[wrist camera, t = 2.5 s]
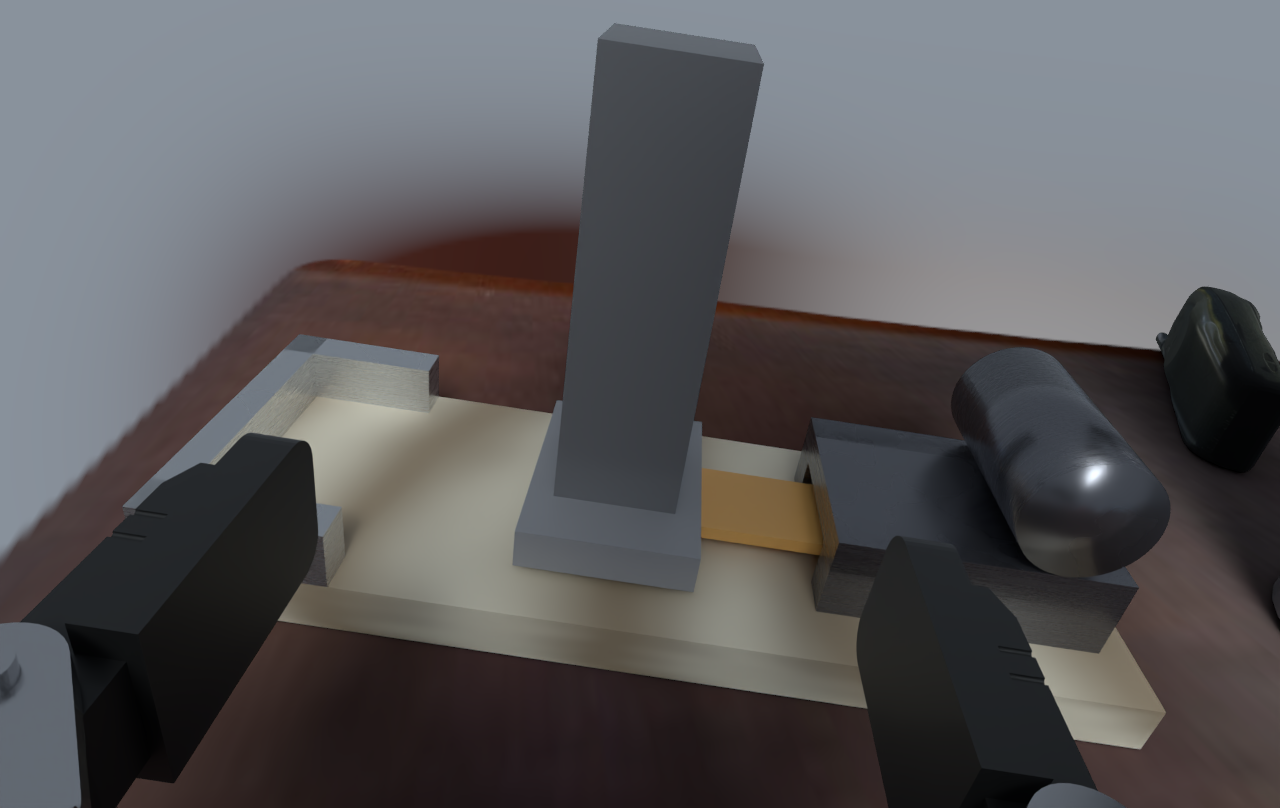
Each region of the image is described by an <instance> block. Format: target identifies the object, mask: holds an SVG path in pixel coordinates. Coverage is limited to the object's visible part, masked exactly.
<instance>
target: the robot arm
mask: <svg viewBox="0 0 1280 808" xmlns="http://www.w3.org/2000/svg"><path fill="white" fill-rule="evenodd" d="M317 541H318V519H317V506H316V493H315V480H314V467H313V455H312V450H311V447H310V445H309V444H308V442H306V441H303V440H296V439H290V438H283V437H277V436H271V435H264V434H258V433H251V432H250V433H247V434H245V435H243V436H242V437H241V438H240V439H239V440H238V441H237V442H236V443H235V444H234V445H233V446H232V447H231V448H230V449H229V451H228V452H227V453H226V454H225V455H224V456H223V457H222V458H221V459H220V460H219V461H218V462H217V463H216V464H215V465H213V464H207V463H199V464H197V465H195V466H193V467H191V468H189V469H187V470H185V471H184V472H182V473H180V474H178V475H176V476H174V477H172V478H170V479H168V480H166V481H164V482H163V483H161V484H160V485H159V486H158V487H157V488H156V489H155V490H154V491H153V492H152V493H151V494H150V495H149V496H148V497H147V498H146V499H145V500H144V501H143V502H142V503H141V504H140V505H139V506H138V507H137V508H136V509H135V513H134V515H131V514H130V515H129V516H128V517H127V518H126V519H125V520H124V521H123V522H122V523H121V524H120V525H119V526H118V527H116V528H115V529H114V530H113V535H112V537H106V538H105V539H104V540H103V541H102V542H101V543H100V544H99V545H98V546H97V547H96V548H95V549H94V550H93V551H92V552H91V553H90V554H89V555H88V556H87V557H86V558H85V559H84V560H83V561H82V562H81V563H80V564H79V565H78V566H77V567H76V568H75V569H74V570H73V571H72V572H71V573H70V574H69V575H68V576H67V577H66V578H65V579H64V580H62V581H61V582H60V583H59V584H58V585H57V586H56V587H55V588H54V589H53V590H52V591H51V592H50V593H49V594H48V595H47V596H46V597H45V598H44V599H43V600H42V601H41V602H40V603H39V604H38V605H37V606H36V607H35V608H34V609H33V610H32V611H31V612H30V613H29V614H28V615H27V616H26V617H25V618H24V619H23V620H22V621H21V622H19V623H5V624H0V808H118V807H117V805H118V804H119V802H120V801H121V799H122V798H123V796H124V795H125V793H126V792H127V790H128V789H129V788H130V786H131V785H132V783H133V782H134V780H135V779H136V778H141V779H148V780H154V781H161V782H167V783H174V782H175V781H176V779H177V778H178V776H179V775H180V773H181V771H182V770H183V768H184V767H185V765H186V764H187V762H188V761H189V759H190V757H191V756H192V754H193V753H194V751H195V750H196V748H197V746H198V745H199V743H200V742H201V740H202V739H203V737H204V735H205V734H206V732H207V731H208V729H209V728H210V726H211V724H212V723H213V721H214V720H215V718H216V717H217V715H218V713H219V712H220V710H221V709H222V707H223V706H224V704H225V702H226V701H227V699H228V698H229V696H230V695H231V693H232V691H233V690H234V688H235V687H236V685H237V684H238V682H239V680H240V679H241V677H242V676H243V674H244V673H245V671H246V669H247V668H248V666H249V665H250V663H251V662H252V660H253V658H254V657H255V655H256V654H257V652H258V651H259V649H260V647H261V646H262V644H263V643H264V641H265V640H266V638H267V636H268V635H269V633H270V632H271V630H272V629H273V627H274V625H275V624H276V622H277V621H278V619H279V618H280V616H281V614H282V613H283V611H284V610H285V608H286V607H287V605H288V603H289V602H290V600H291V599H292V597H293V596H294V594H295V592H296V591H297V589H298V588H299V586H300V585H301V583H302V582H303V580H304V578H305V577H306V575H307V573H308V571H309V569H310V567H311V564H312V562H313V559H314V556H315V552H316V547H317ZM1272 600H1273V603H1274V606H1275V609H1276V612H1277V615H1278V617H1279V619H1280V576H1279V578H1278V579H1277V581H1276V582H1275V583H1274V585H1273V594H1272ZM856 652H857V662H858V667H859V672H860V677H861V681H862V686H863V691H864V695H865V700H866V704H867V709H868V714H869V718H870V723H871V728H872V732H873V737H874V742H875V746H876V751H877V756H878V760H879V765H880V770H881V774H882V779H883V784H884V788H885V793H886V797H887V802H888V807H889V808H1126V807H1125V806H1123V805H1122V804H1120V803H1119V802H1117V801H1116V800H1114V799H1112V798H1110V797H1109V796H1107V795H1105V794H1103V793H1101V792H1098V790H1097V788H1096V786H1095V784H1094V782H1093V780H1092V778H1091V775H1090V773H1089V771H1088V769H1087V767H1086V765H1085V763H1084V761H1083V758H1082V756H1081V754H1080V752H1079V750H1078V748H1077V746H1076V743H1075V741H1074V739H1073V737H1072V735H1071V733H1070V731H1069V728H1068V726H1067V724H1066V722H1065V720H1064V718H1063V716H1062V714H1061V711H1060V709H1059V707H1058V705H1057V703H1056V701H1055V699H1054V696H1053V694H1052V692H1051V690H1050V688H1049V686H1048V685H1045V683H1044V680H1045V677H1044V675H1043V673H1042V671H1041V669H1040V666H1039V664H1038V662H1037V660H1036V658H1035V657H1032V649H1031V647H1030V645H1029V643H1028V641H1027V639H1026V637H1025V634H1024V632H1023V630H1022V628H1021V626H1020V624H1019V622H1018V619H1017V618H1016V617H1015V616H1014V615H1013V613H1012V612H1011V611H1010V610H1009V609H1008V608H1007V607H1006V606H1005V605H1004V604H1003V603H1002V602H1001V601H1000V600H999V598H998V597H997V596H996V595H995V594H994V593H993V592H992V591H991V590H990V589H989V588H988V587H981V586H975V585H972V584H971V581H970V579H969V577H968V574H967V572H966V569H965V567H964V565H963V562H962V560H961V558H960V555H959V553H958V551H957V549H956V548H955V546H953V545H952V544H948V543H942V542H936V541H929V540H923V539H916V538H910V537H904V536H895V537H893V538H892V540H891V541H890V543H889V544H888V547H887V549H886V551H885V554H884V557H883V559H882V562H881V565H880V567H879V570H878V572H877V575H876V578H875V580H874V583H873V585H872V588H871V591H870V593H869V596H868V599H867V601H866V604H865V606H864V609H863V612H862V614H861V617H860V621H859V626H858V632H857V642H856Z"/></svg>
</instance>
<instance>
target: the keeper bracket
mask: <svg viewBox="0 0 1280 808" xmlns="http://www.w3.org/2000/svg"><path fill="white" fill-rule="evenodd" d="M316 396H318V397H324V398H331V399H338V400H344V401H351V402H358V403H364V404H371V405H377V406H384V407H391V408H397V409H404V410H411V411H417V412H424V413H429V412H430V410H431V409H432V407H433V405H434V404H435V402H436V400H437V398H438V397H439V355H432V354H426V353H419V352H412V351H406V350H399V349H393V348H386V347H379V346H373V345H366V344H360V343H353V342H346V341H340V340H333V339H327V338H320V337H313V336H307V335H300V334H299V335H298V336H297V337H296V338H295V339H294V340H293V341H292V342H291V343H290V344H289V345H288V346H287V347H286V348H285V349H284V350H283V351H282V352H281V353H280V354H279V355H278V356H277V357H276V358H275V359H274V360H273V361H271V362H270V363H269V364H268V365H267V366H266V367H265V368H264V369H263V370H262V371H261V372H260V373H259V374H258V375H257V376H256V377H255V378H254V379H253V380H252V381H251V382H250V383H249V384H248V385H247V386H246V387H245V388H244V389H243V390H242V391H241V392H240V393H239V394H238V395H237V396H235V397H234V398H233V399H232V400H231V401H230V402H229V403H228V404H227V405H226V406H225V407H224V408H223V409H222V410H221V411H220V412H219V413H218V414H217V415H216V416H215V417H214V418H213V419H212V420H211V421H210V422H209V423H208V424H207V425H206V426H205V427H204V428H203V429H202V430H201V431H199V432H198V433H197V434H196V435H195V436H194V437H193V438H192V439H191V440H190V441H189V442H188V443H187V444H186V445H185V446H184V447H183V448H182V449H181V450H180V451H179V452H178V453H177V454H176V455H175V456H174V457H173V458H172V459H171V460H170V461H169V462H168V463H167V464H166V465H165V466H163V467H162V468H161V469H160V470H159V471H158V472H157V473H156V474H155V475H154V476H153V477H152V478H151V479H150V480H149V481H148V482H147V483H146V484H145V485H144V486H143V487H142V488H141V489H140V490H139V491H138V492H137V493H136V494H135V495H134V496H133V497H132V498H131V499H130V500H129V501H127V502H126V503H125V504H124V505H123V506H122V507H123V511H124V515H125V519H126V518H127V517H128V516H129V515H130V514H131V515H134V513H135V509H136V508H137V507H138V506H139V505H140V504H141V503H142V502H143V501H144V500H145V499H146V498H147V497H148V496H149V495H150V494H151V493H152V492H153V491H154V490H155V489H156V488H157V487H158V486H159V485H160V484H161V483H163V482H164V481H166V480H168V479H170V478H172V477H174V476H176V475H178V474H180V473H182V472H184V471H185V470H187V469H189V468H191V467H193V466H195V465H197V464H199V463H207V464H213V465H215V464H216V463H217V462H218V461H219V460H220V459H221V458H222V457H223V456H224V455H225V454H226V453H227V452H228V451H229V449H230V448H231V447H232V446H233V445H234V444H235V443H236V442H237V441H238V440H239V439H240V438H241V437H242V436H243V435H245V434H247V433H250V432H251V433H258V434H264V435H271V436H277V437H282V436H283V435H284V434H285V433H286V432H287V430H288V429H289V428H290V427H291V426H292V425H293V423H294V422H295V421H296V420H297V419H298V418H299V416H300V415H301V414H302V413H303V412H304V411H305V409H306V408H307V407H308V406H309V405H310V403H311V402H312V401H313V400H314V399H315V398H316ZM316 506H317V519H318V541H317V547H316V552H315V556H314V559H313V562H312V564H311V567H310V569H309V571H308V573H307V575H306V577H305V578H304V580H303V582H302V583H303V584H309V585H316V586H323V587H328V585H329V583H330V582H331V580H332V578H333V577H334V575H335V573H336V571H337V570H338V568H339V566H340V565H341V563H342V561H343V559H344V558H345V545H344V531H343V517H342V507H339V506H332V505H326V504H319V503H316Z"/></svg>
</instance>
